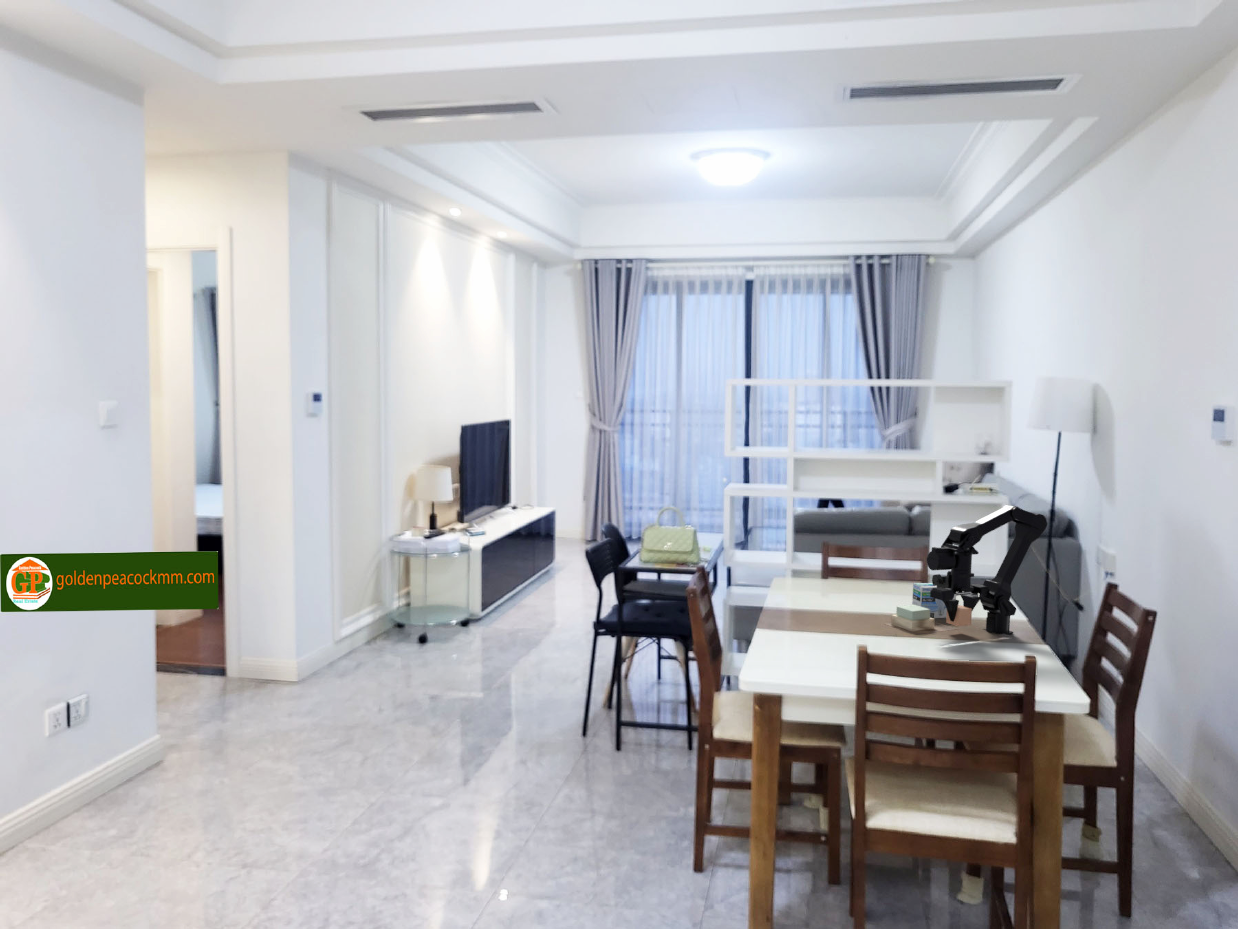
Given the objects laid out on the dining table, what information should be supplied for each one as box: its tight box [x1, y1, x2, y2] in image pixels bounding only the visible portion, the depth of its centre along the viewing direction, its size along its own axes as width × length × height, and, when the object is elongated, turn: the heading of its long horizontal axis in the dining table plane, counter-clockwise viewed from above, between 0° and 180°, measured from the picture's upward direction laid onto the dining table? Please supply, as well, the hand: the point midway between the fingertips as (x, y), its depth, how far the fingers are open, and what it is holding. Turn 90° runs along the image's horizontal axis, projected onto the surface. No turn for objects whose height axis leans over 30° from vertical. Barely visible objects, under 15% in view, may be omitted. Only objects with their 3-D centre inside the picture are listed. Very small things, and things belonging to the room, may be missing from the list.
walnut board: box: [885, 621, 958, 636], centre depth 298 cm, size 17×14×1 cm
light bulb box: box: [911, 582, 948, 619], centre depth 313 cm, size 11×7×11 cm, turn 99°
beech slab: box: [890, 614, 936, 631], centre depth 298 cm, size 9×9×3 cm
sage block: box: [895, 604, 930, 620], centre depth 298 cm, size 7×7×3 cm
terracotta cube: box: [945, 604, 973, 627], centre depth 290 cm, size 5×5×5 cm
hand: (958, 620), depth 290 cm, fingers closed on terracotta cube, 5 cm apart
